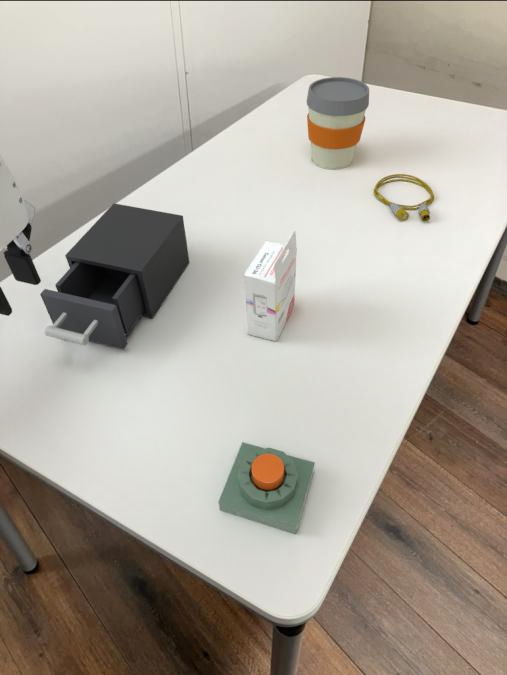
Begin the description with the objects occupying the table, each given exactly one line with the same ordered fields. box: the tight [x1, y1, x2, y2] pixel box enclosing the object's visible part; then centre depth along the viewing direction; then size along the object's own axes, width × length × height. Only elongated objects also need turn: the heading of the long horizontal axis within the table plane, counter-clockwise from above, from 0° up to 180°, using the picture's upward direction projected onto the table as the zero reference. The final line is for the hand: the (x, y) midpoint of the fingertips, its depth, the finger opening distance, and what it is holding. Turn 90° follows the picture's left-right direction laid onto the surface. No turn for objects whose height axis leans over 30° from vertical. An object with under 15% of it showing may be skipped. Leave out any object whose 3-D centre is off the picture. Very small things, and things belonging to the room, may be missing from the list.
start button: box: [251, 454, 284, 490], centre depth 56 cm, size 4×4×2 cm
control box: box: [218, 441, 316, 535], centre depth 58 cm, size 9×8×4 cm
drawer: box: [39, 262, 146, 350], centre depth 76 cm, size 18×11×8 cm, turn 161°
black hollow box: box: [64, 203, 190, 320], centre depth 82 cm, size 15×13×10 cm
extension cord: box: [373, 173, 435, 222], centre depth 100 cm, size 12×16×2 cm
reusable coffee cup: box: [306, 76, 370, 170], centre depth 107 cm, size 13×13×15 cm
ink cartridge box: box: [243, 230, 298, 342], centre depth 73 cm, size 9×5×15 cm, turn 158°
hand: (14, 294), depth 58 cm, fingers open, 4 cm apart
